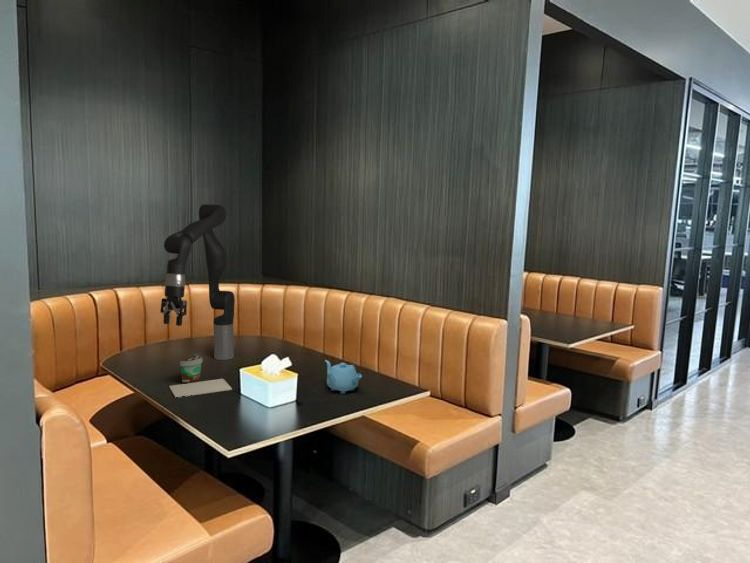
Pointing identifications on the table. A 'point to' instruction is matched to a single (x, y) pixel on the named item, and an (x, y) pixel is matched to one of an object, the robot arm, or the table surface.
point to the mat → (199, 388)
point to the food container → (191, 369)
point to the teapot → (342, 377)
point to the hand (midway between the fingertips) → (172, 324)
